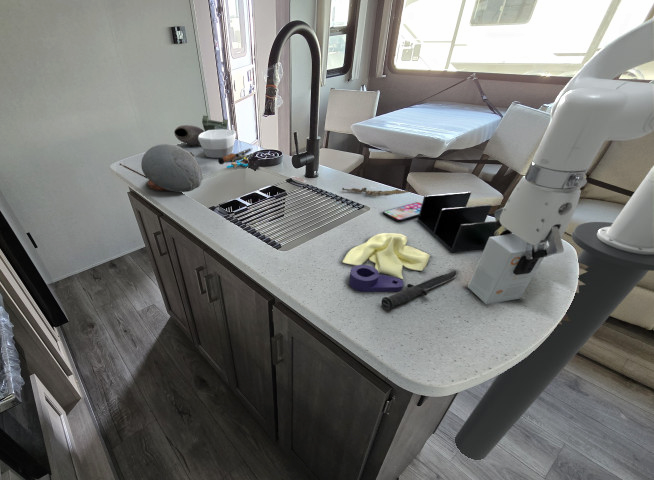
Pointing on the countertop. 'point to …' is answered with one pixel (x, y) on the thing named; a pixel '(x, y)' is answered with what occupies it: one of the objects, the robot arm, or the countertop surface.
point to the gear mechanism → (239, 162)
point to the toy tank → (213, 124)
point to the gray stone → (171, 168)
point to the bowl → (217, 142)
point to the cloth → (388, 254)
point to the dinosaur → (242, 156)
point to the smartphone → (404, 212)
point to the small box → (501, 270)
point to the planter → (188, 134)
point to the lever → (373, 280)
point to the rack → (456, 221)
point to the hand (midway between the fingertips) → (508, 262)
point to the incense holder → (149, 181)
